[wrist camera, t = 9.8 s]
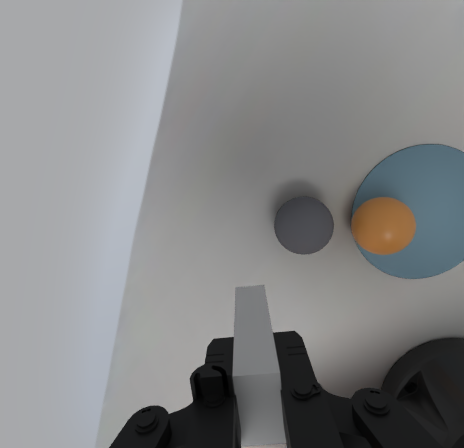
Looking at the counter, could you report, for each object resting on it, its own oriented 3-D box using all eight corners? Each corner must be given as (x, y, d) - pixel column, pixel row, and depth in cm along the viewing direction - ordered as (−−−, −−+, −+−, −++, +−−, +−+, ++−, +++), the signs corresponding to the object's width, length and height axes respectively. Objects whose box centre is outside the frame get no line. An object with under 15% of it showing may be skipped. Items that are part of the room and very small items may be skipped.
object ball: (371, 236, 33) (427, 244, 29) (343, 258, 30) (401, 271, 26) (366, 188, 31) (424, 189, 27) (336, 207, 28) (396, 211, 24)
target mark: (497, 258, 32) (499, 259, 32) (365, 292, 33) (366, 293, 33) (482, 125, 29) (484, 125, 29) (338, 168, 30) (339, 168, 30)
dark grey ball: (265, 258, 29) (293, 244, 33) (320, 264, 25) (343, 248, 30) (261, 201, 28) (290, 194, 32) (316, 199, 25) (341, 192, 29)
